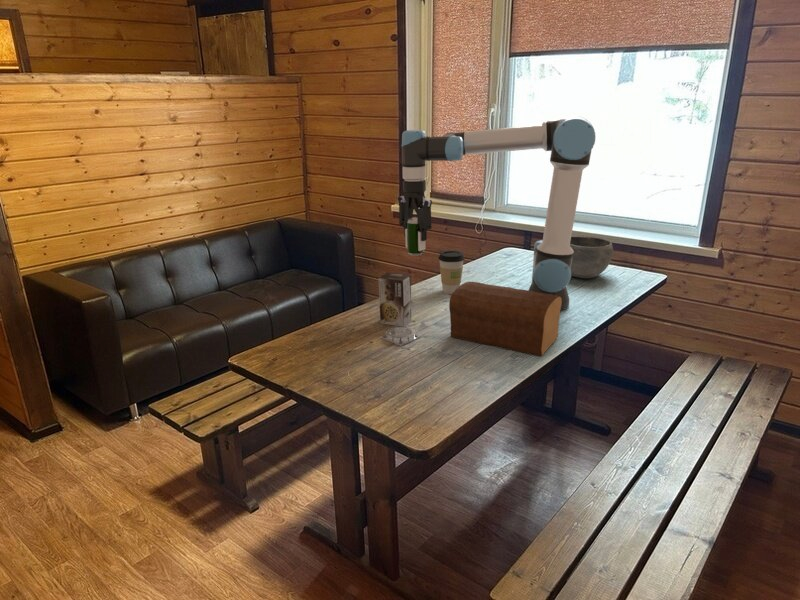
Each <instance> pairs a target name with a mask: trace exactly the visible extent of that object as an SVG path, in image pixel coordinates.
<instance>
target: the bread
mask: <svg viewBox="0 0 800 600" xmlns="http://www.w3.org/2000/svg"><path fill="white" fill-rule="evenodd" d="M528 290H529V289H528ZM528 290H527V289H520V288H514V287H508V286H501V285H493V284H488V283H482V282H477V281H466V282H464V283H462V284H460V286H459V287H458V288H457V289H456V290H455V291H454V292H453V293H452V294H450V295H451V296H450V298H449V301H448V302H449V305H448V308H449V319H450V337H452V338H455V339H460V340H463V341H468V342H473V343H478V344H482V345H486V346H491V347H496V348H500V349H505V350H509V351H514V352H519V353H524V354H529V355H533V356H539V357H542V356H543V355H544V354H545V352H546V351H547V350H548V349H549V347H551V345H552V344H553V343H555V342H554V341H556V340H557V338H558V336H559V324H560V316H561V315H560V314H561V310H560V309H561V303H562V298H561V297H560V296H557V295H552V294H545V293H538V292H533V291H528Z"/></svg>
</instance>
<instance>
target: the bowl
mask: <svg viewBox="0 0 800 600" xmlns="http://www.w3.org/2000/svg"><path fill="white" fill-rule="evenodd" d="M570 247H571V248H572V249H573V251H574V253H573V258H572V264H571V277H575V278H578V279H592V278H596V277H598V276H599V275H600V274H602V273H603V272H605V270H606V269H607V268H608V266H609V265H610V263H611V261H612V258H613V255H614V247H613V243H612V241H610V240H607V239H605V238H601V237H595V236H593V237H592V236H591V237H590V236H582V235H581V236H580V235H579V236H575V235H574V236H573V235H572V236H571V241H570Z"/></svg>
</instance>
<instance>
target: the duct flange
mask: <svg viewBox="0 0 800 600" xmlns="http://www.w3.org/2000/svg"><path fill="white" fill-rule="evenodd" d="M380 338H381V339H383V340H386V341H387V342H390V343H393V344H395V345H396V346H400V347H402V346H405V345H407V344H409V343H411V342H414V341H416V340H418V339H420V338H422V335H420V334H417V332H416V330H415V329H414V328H412V327H409V326H405V327H402V326H394V327H391V328H389V329H387V330H386V331H385V334H383V335H380Z"/></svg>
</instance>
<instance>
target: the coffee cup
mask: <svg viewBox="0 0 800 600" xmlns="http://www.w3.org/2000/svg"><path fill="white" fill-rule="evenodd" d="M465 259H466V258H465V255H464V253H463V252H462V251H459V250H444V251H440V254H439V255H438V260H439V273H440V279H441V280H440V281H441V286H442V287H441V288H442V292H443V294H446V295H452V293H453V292H454V291H455V290H456V289H457V288H458V287H459V286H460V285H461V282H462V275H463V269H464V260H465Z"/></svg>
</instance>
